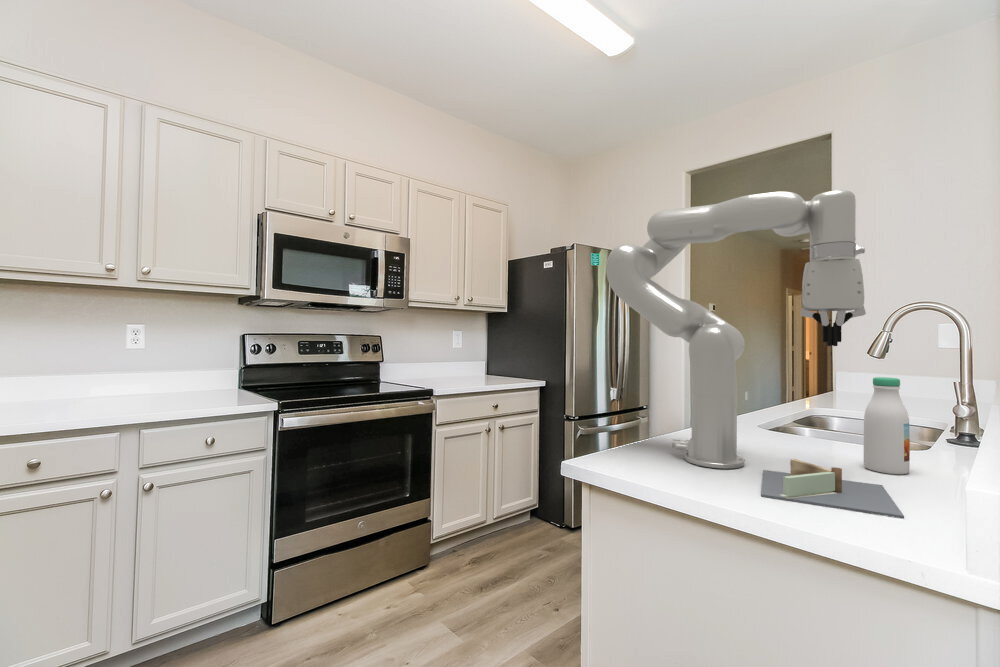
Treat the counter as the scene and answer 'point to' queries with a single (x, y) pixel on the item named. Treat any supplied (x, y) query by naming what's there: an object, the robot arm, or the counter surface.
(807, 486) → the fence hinged panel
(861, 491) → the board
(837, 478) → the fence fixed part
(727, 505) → the counter surface
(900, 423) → the milk bottle
